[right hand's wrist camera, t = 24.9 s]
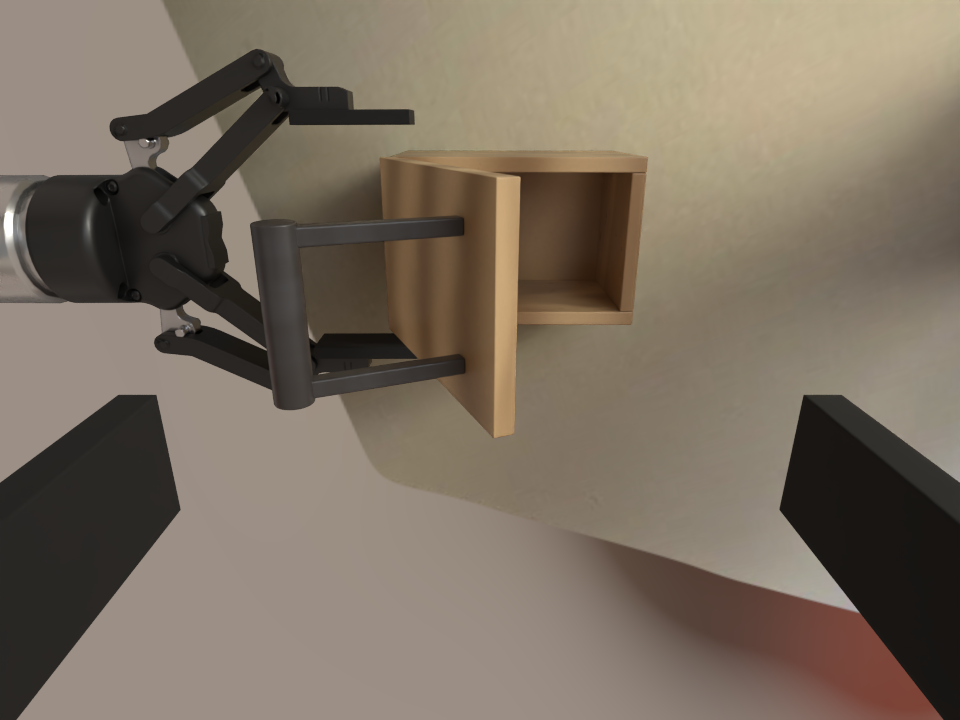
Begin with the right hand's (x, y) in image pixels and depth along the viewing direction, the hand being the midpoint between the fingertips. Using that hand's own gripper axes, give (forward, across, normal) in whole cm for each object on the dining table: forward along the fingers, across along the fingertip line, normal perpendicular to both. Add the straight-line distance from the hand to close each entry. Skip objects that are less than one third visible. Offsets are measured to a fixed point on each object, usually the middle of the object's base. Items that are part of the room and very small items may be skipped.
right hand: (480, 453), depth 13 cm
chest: (+32, +2, 0) cm, 32 cm away
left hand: (+26, -4, 0) cm, 26 cm away
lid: (+16, -2, 0) cm, 16 cm away
